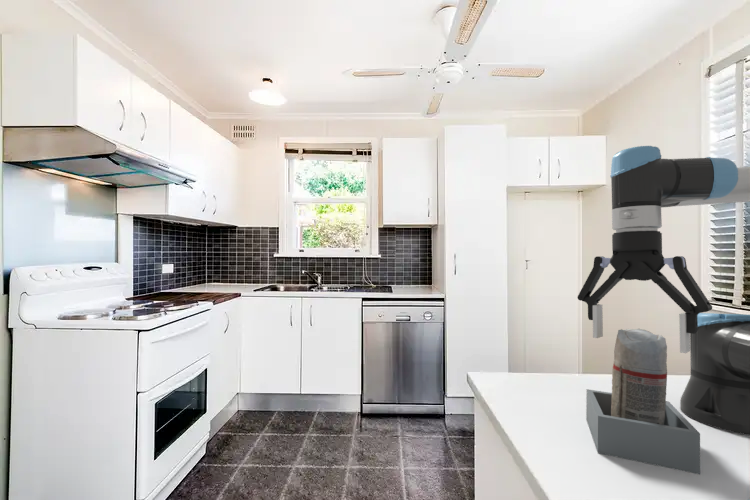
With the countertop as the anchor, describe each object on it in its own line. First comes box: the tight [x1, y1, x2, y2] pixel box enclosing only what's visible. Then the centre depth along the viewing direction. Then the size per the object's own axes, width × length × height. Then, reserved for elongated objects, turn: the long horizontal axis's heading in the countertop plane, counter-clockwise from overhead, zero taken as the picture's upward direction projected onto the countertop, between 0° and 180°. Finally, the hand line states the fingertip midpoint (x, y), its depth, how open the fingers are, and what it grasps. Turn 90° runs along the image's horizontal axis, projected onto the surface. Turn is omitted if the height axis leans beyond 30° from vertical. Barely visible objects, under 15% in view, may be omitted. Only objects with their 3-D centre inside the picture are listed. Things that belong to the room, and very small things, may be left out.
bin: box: [585, 389, 701, 475], centre depth 65 cm, size 14×14×6 cm
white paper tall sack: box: [611, 328, 668, 425], centre depth 65 cm, size 8×8×20 cm
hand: (637, 343), depth 66 cm, fingers open, 13 cm apart
